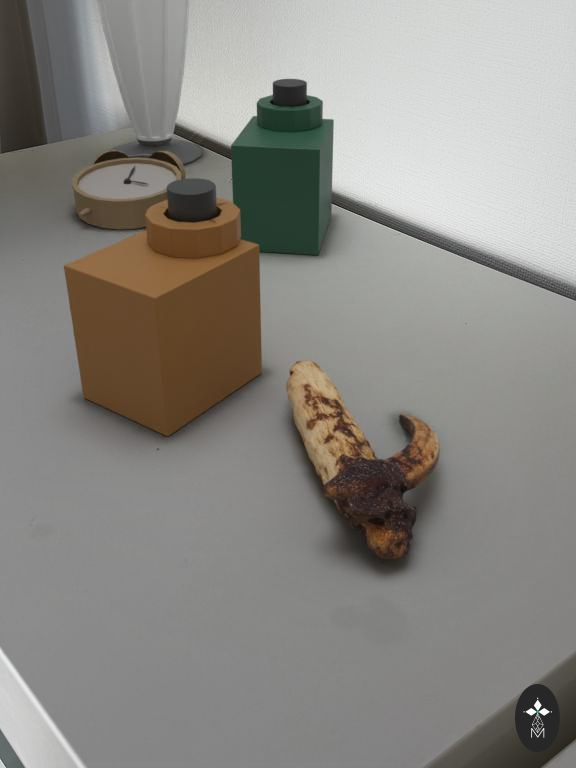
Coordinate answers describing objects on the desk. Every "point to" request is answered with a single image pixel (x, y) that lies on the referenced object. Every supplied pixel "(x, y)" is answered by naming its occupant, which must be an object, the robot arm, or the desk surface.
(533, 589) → the desk surface
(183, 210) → the dark grey cylinder
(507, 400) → the desk surface
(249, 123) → the green bottle
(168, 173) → the alarm clock
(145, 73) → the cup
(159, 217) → the amber bottle
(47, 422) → the desk surface
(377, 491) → the lashed bone hook
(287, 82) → the short charcoal cylinder
